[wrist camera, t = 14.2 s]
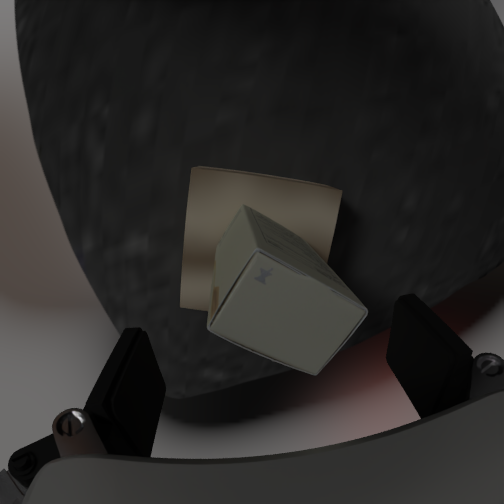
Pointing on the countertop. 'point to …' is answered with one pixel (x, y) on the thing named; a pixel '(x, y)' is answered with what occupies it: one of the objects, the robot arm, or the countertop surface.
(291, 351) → the skincare box
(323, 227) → the birch block
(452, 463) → the robot arm
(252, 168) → the countertop surface
